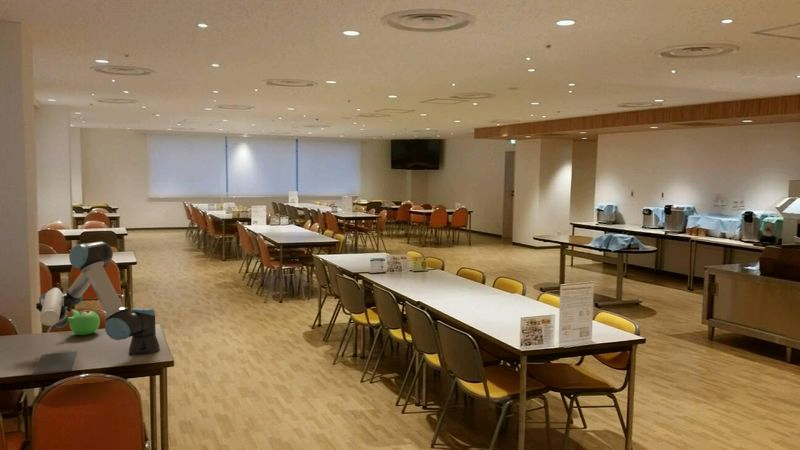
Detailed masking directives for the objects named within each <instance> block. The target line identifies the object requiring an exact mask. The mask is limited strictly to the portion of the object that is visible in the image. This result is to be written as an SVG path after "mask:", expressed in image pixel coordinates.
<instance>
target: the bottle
mask: <svg viewBox="0 0 800 450" xmlns="http://www.w3.org/2000/svg"><path fill="white" fill-rule="evenodd" d="M45 293H46V295H45V299H44V303H43V307H42V311H41V312H40V315H39V320H40V323H41V324H42V325H44V326H49V327H50V326H54V324H56V323H57V322H58V321H59V317H60V312H61V307H62V303H61V297H64V296H63V294H64V293H63V292H62V290H61V289H60V288H59V287H52V288H51V289H50V290H47V292H45Z"/></svg>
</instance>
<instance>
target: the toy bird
mask: <svg viewBox="0 0 800 450" xmlns="http://www.w3.org/2000/svg"><path fill="white" fill-rule="evenodd" d="M71 313H72V316H70V317H69V316H68V323H69V328H70V330H71V331H72V332H73V333H74V334H76V335H79V336H87V335H90V334H93V333H95V332H96V331H97V330H98V329H99V327H100V326H101V319H100V318H101V317H100V316H99V315H98V313H96V312H95V311H93V310H90V309H86V310H85V309H84V310H80V311H78V310H76V309H72V308H71Z"/></svg>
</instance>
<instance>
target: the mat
mask: <svg viewBox="0 0 800 450" xmlns="http://www.w3.org/2000/svg"><path fill="white" fill-rule="evenodd" d="M77 353H78V352H77V350H75V351H74V350H73V351H65V352H56V353H55V352H53V353H46V354H41V356H40V358H39V359H38V361H37V364H36V365H35V368H34V369H33V372H32V376H38V375H40V376H41V375H46V374H47V375H48V374H56V373H58V374H59V373H65V372H66V371H67V372H71V371H72V368H73V365H74V362H75V359H76V357H77Z"/></svg>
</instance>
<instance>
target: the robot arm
mask: <svg viewBox="0 0 800 450" xmlns="http://www.w3.org/2000/svg"><path fill="white" fill-rule="evenodd" d="M113 253H114V251H113V248H112V247H111V245H110V244H108V243H107V242H104V241H95V242H87V243H80V244H76V245H74V246H73V247H72V248H71V250H70V252H69V255H68V256H69V259H68V260H69V262H70V265H71V266H72V267H74V268H76V269H79V270H80V273H79V275H78V276H77V278H76V279H75V280H74V281H73V283H72V284H71V285H70V287H69V288H68V289H67V291H65V292H64V293H63V296H64V297H61V303H62V307H61V312H60V317H59V321H58V322H57V323H56V324H54V325H53V326H54V327H56V328H60V329H61V328H65V327H66V326H67V325H68V323H69V322H68V317H69V316H68V314H67V312H71V313H72V311H71V310H72V306H76V305H78V304H81V303H82V302H83V299H84V296H83V294H84V293H85V292H86V291H87V290H88V288H89V287H90V286H91V287H92V288H93V291H94V292H95V294H96V297H97V298H98V300H99V303H100V304H101V306H102V308H103V310H104V312H105V314H106V316H105V321H106V322H105V324H104V331H105V334H106V335H107V336H108V337H109V339H112V340H114V341H121V340H126V339H127V338H131V341H130V344H129V348H128V353H129V354H130V355H134V356H135V355H136V356H141V355H142V356H145V355H150V354H154V353H157V352H159V351H160V347H161V346H160V344H159V340H158V338H157V333H156V331H157V330H156V315H155V314H156V312H155V310H154V308H152V307H134V308H131V310H130V309H129V308H128V307H126V306H124V305H123V303H122V300H121V299H120V296H118V293H117V291H116V290H115V287H114V285H113V283H112V282H111V279H110V278H109V275H108V274H107V271H106V270H105V268H107V267H108V265H109V264H110V263H111V261H112V259H113V256H114V254H113ZM46 293H47V292H45V293H43V294H42V295H40V296H39V298H38V302H37V303H36V304H35V305H36V306H35V309H36V310H37V311H39V312H40V313H41V311H42V307H43V303H44V299H45V295H46Z"/></svg>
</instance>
